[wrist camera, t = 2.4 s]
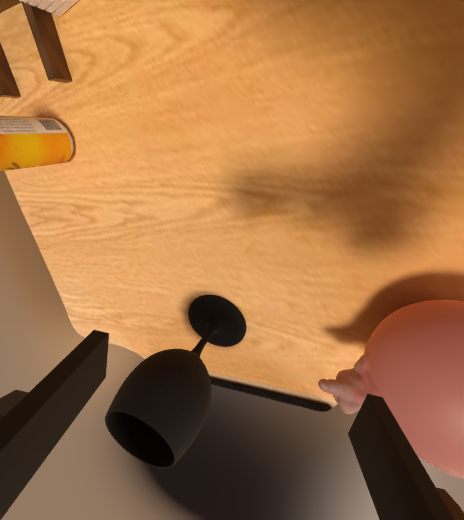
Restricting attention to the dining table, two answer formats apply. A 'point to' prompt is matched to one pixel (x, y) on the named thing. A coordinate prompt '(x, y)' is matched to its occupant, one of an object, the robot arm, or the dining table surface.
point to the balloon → (415, 379)
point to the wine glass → (172, 389)
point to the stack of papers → (52, 5)
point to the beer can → (33, 142)
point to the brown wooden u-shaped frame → (48, 47)
